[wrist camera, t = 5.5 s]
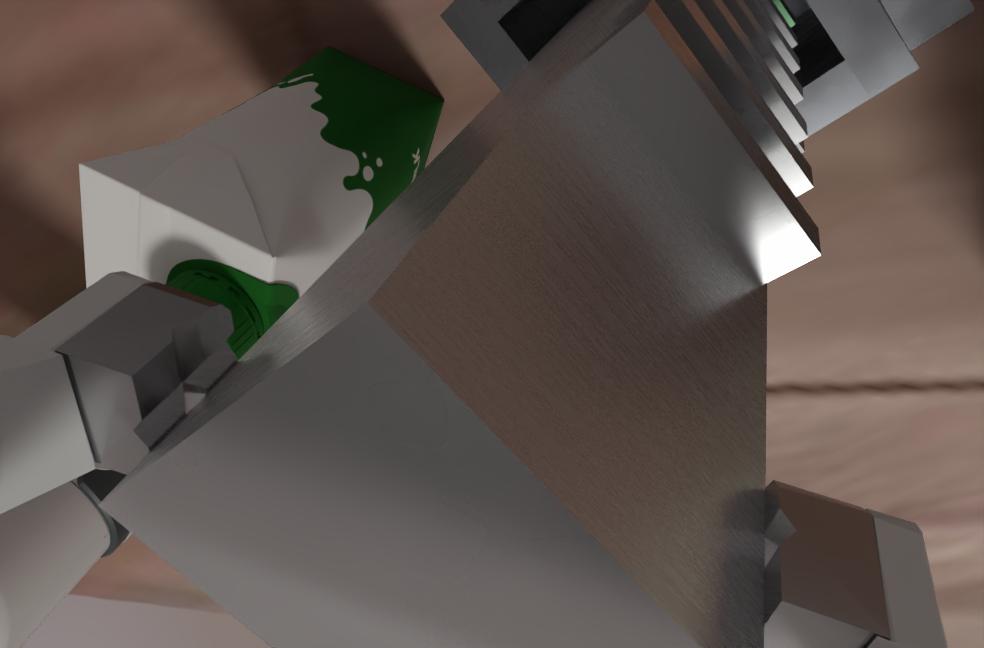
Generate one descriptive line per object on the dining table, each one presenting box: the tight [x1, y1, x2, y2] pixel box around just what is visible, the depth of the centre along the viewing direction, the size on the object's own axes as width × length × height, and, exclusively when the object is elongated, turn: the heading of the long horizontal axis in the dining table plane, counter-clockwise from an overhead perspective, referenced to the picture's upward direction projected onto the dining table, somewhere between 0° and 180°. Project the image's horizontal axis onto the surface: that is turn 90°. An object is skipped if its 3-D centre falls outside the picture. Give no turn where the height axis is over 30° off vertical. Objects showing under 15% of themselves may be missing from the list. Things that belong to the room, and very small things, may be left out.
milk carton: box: [79, 47, 444, 361], centre depth 34 cm, size 9×9×20 cm
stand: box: [440, 0, 976, 153], centre depth 28 cm, size 16×16×11 cm
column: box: [98, 0, 821, 648], centre depth 16 cm, size 6×5×24 cm
